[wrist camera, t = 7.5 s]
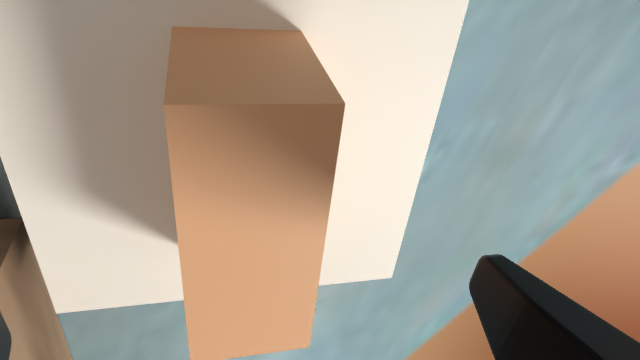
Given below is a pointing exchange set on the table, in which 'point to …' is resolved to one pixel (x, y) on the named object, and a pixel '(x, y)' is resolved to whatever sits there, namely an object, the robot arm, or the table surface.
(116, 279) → the lid
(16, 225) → the walnut box
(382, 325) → the table surface
